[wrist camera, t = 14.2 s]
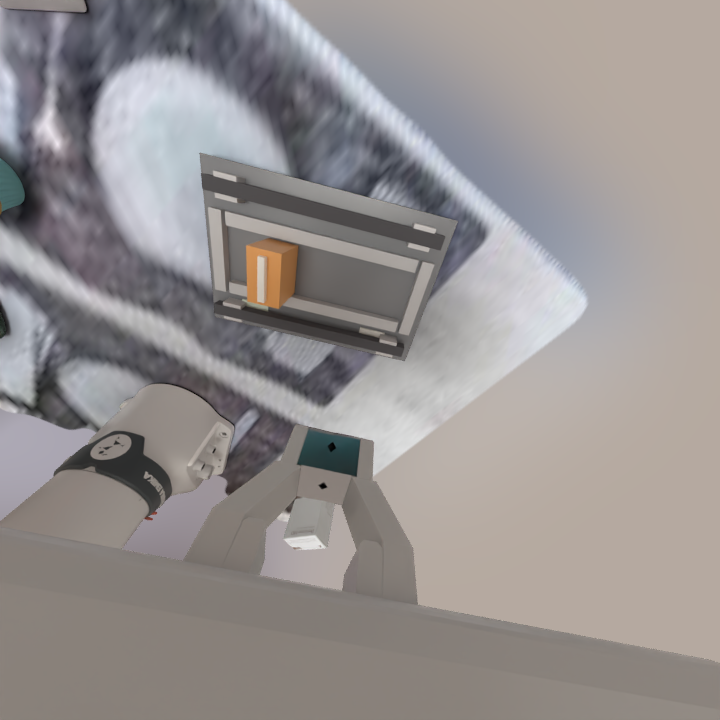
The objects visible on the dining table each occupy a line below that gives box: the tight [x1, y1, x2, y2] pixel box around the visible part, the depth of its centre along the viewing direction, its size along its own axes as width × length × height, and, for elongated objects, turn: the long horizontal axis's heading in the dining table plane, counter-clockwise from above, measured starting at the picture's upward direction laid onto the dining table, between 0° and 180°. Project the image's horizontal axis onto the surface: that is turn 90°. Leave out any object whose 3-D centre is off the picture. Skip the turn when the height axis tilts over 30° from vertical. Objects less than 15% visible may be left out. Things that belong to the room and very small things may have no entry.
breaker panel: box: [200, 153, 458, 361], centre depth 28 cm, size 16×24×4 cm, turn 77°
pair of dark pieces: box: [201, 173, 445, 357], centre depth 26 cm, size 13×22×1 cm, turn 77°
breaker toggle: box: [246, 238, 298, 309], centre depth 25 cm, size 5×3×6 cm, turn 167°
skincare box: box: [283, 496, 335, 550], centre depth 44 cm, size 6×4×12 cm
